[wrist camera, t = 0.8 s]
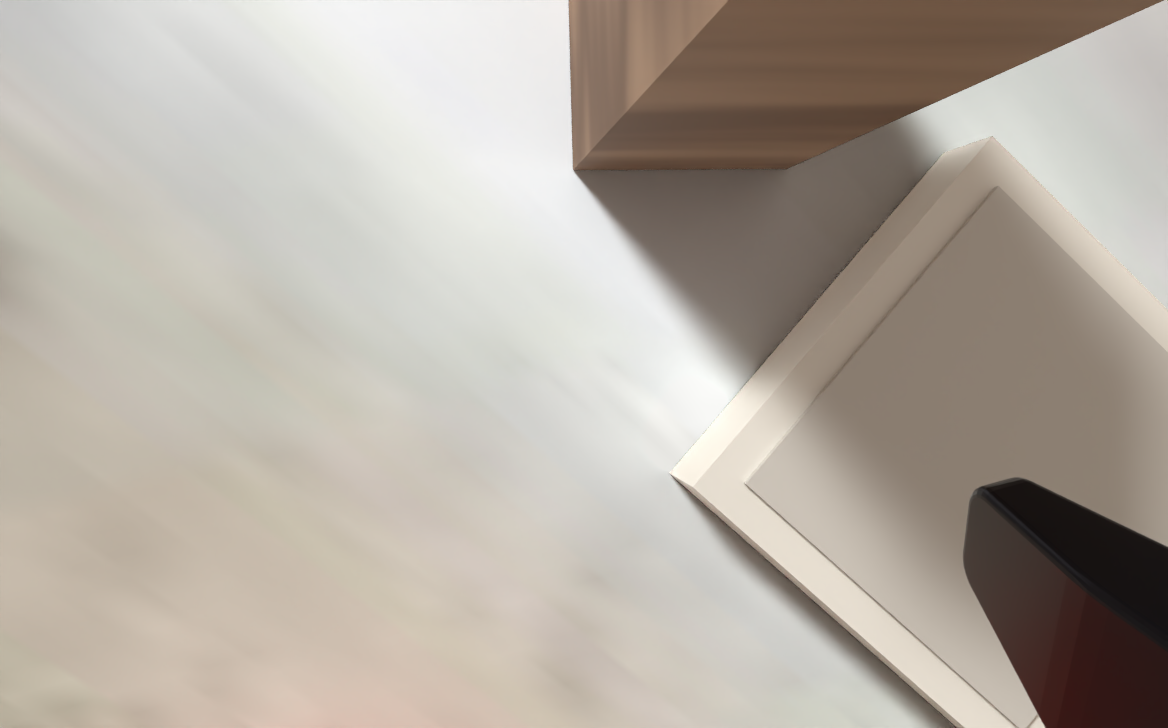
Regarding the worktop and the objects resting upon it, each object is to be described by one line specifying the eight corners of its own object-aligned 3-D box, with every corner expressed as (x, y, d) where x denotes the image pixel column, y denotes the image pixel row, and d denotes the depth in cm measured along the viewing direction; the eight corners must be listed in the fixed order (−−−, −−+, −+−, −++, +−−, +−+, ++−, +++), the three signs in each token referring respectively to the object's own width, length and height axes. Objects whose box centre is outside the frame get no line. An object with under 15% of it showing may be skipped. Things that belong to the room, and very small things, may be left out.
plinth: (1224, 427, 24) (1301, 437, 22) (971, 740, 24) (1025, 780, 21) (943, 152, 23) (996, 134, 21) (669, 472, 22) (694, 488, 20)
